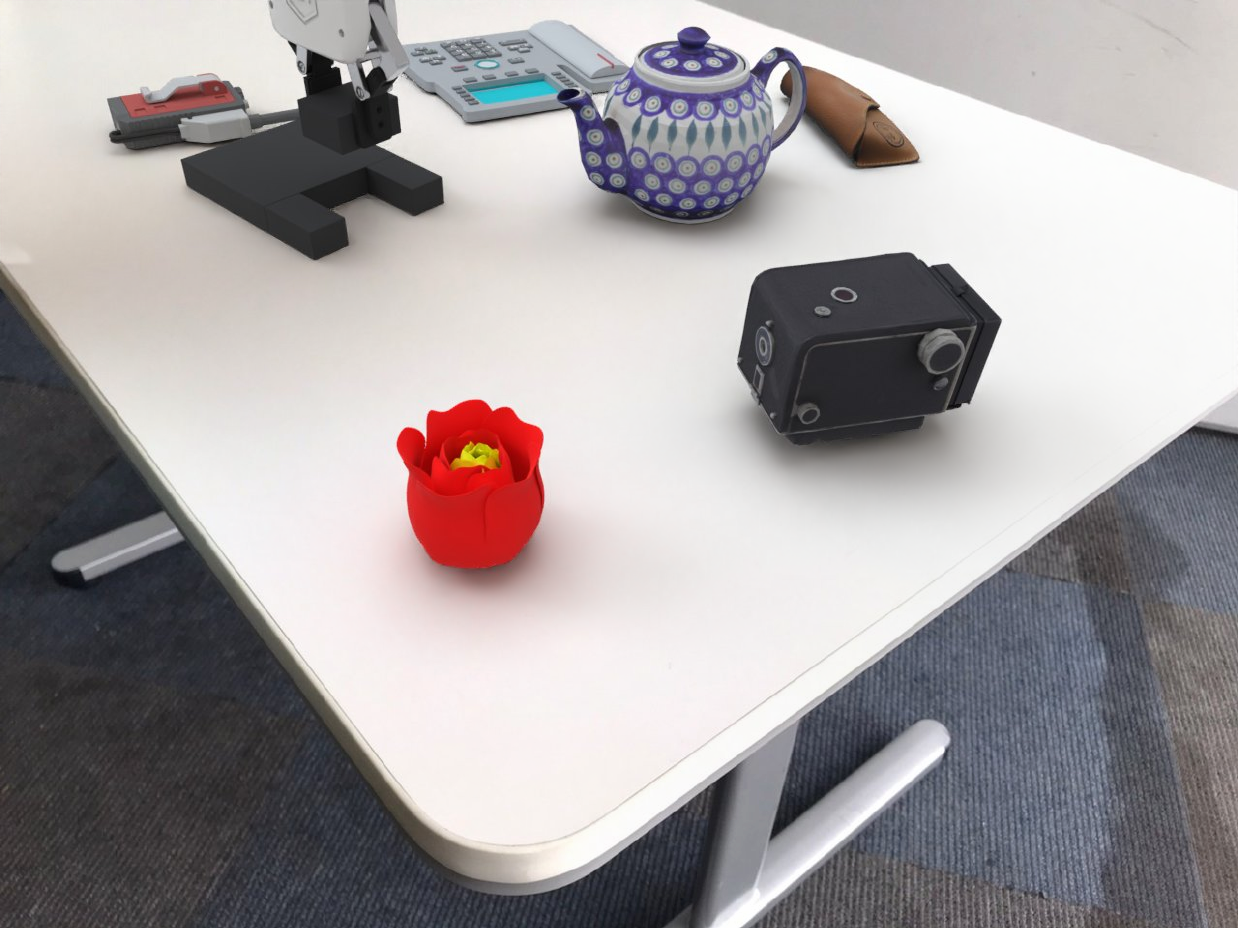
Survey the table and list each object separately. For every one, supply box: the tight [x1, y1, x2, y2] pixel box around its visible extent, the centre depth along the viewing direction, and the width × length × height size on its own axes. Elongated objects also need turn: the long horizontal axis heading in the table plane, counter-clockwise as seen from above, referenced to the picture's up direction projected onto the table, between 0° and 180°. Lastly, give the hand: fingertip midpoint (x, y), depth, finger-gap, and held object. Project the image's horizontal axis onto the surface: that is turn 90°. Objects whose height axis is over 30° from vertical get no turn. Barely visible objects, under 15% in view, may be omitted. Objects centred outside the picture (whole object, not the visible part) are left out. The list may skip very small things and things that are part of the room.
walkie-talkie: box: [106, 72, 300, 150], centre depth 98 cm, size 9×4×20 cm
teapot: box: [556, 26, 807, 225], centre depth 88 cm, size 25×15×15 cm, turn 116°
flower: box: [396, 398, 546, 570], centre depth 57 cm, size 8×8×8 cm
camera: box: [736, 251, 1003, 446], centre depth 66 cm, size 11×11×15 cm
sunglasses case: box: [779, 64, 921, 168], centre depth 106 cm, size 18×7×7 cm
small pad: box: [296, 80, 402, 155], centre depth 81 cm, size 6×5×3 cm
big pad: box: [180, 119, 445, 261], centre depth 89 cm, size 14×18×2 cm
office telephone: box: [401, 19, 631, 123], centre depth 112 cm, size 23×3×20 cm
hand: (351, 129), depth 82 cm, fingers closed on small pad, 5 cm apart
